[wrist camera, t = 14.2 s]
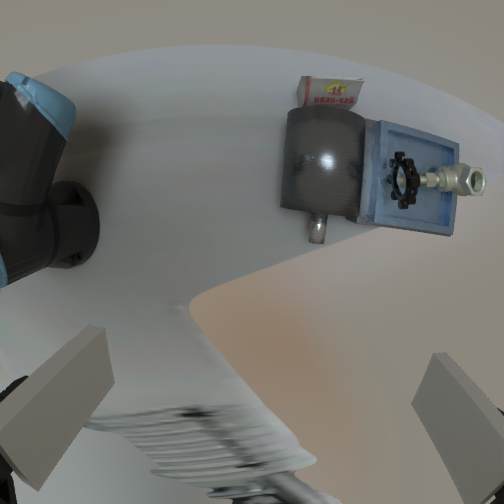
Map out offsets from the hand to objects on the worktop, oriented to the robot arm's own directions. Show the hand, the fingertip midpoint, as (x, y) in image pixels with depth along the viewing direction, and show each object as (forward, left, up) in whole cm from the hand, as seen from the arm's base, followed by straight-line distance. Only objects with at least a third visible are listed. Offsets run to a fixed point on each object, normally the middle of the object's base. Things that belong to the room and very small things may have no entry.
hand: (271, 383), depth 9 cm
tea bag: (+6, +21, -32) cm, 39 cm away
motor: (+14, +10, -32) cm, 36 cm away
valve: (+20, +11, -24) cm, 33 cm away
